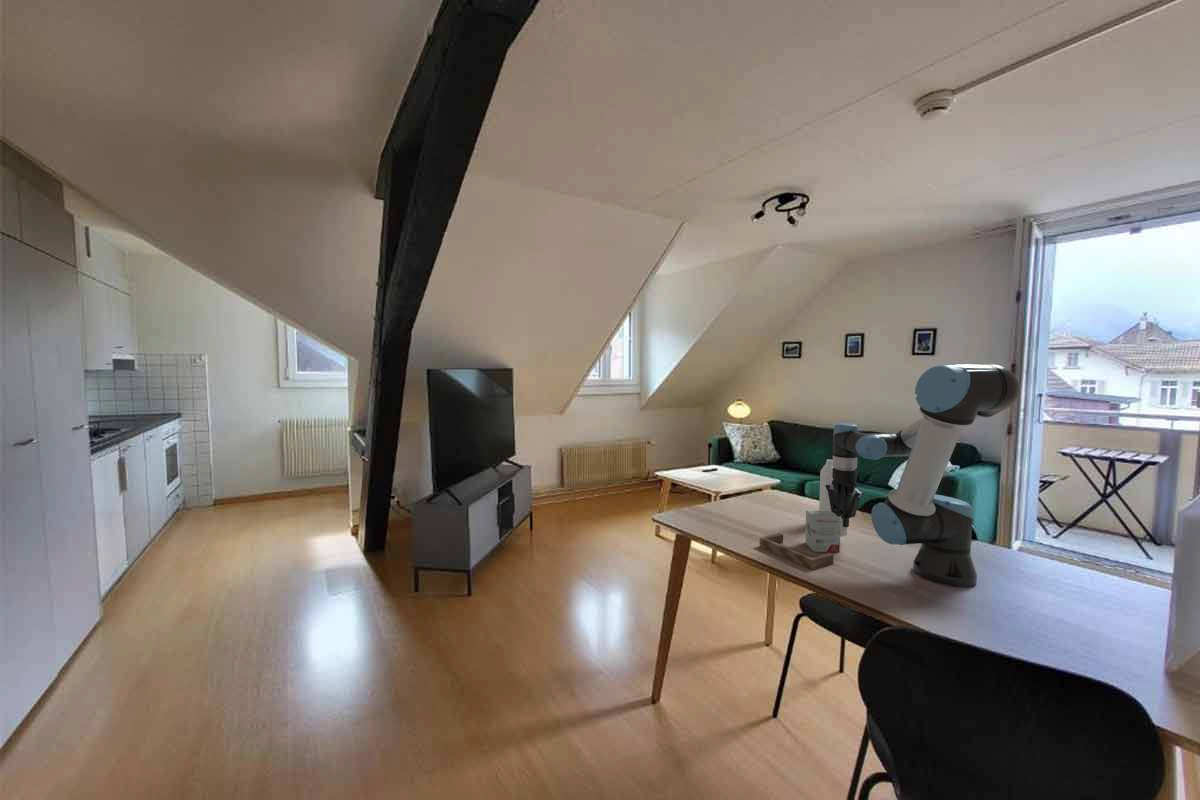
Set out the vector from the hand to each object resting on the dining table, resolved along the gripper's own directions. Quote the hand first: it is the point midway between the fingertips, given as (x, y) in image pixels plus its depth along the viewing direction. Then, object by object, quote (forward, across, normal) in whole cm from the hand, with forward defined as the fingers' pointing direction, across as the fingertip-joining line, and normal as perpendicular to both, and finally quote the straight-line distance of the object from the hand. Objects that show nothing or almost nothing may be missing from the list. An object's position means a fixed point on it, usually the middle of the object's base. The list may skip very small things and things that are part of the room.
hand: (842, 535), depth 166 cm
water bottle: (+3, +14, -12) cm, 19 cm away
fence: (+2, 0, +23) cm, 24 cm away
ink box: (+3, 0, +10) cm, 11 cm away
